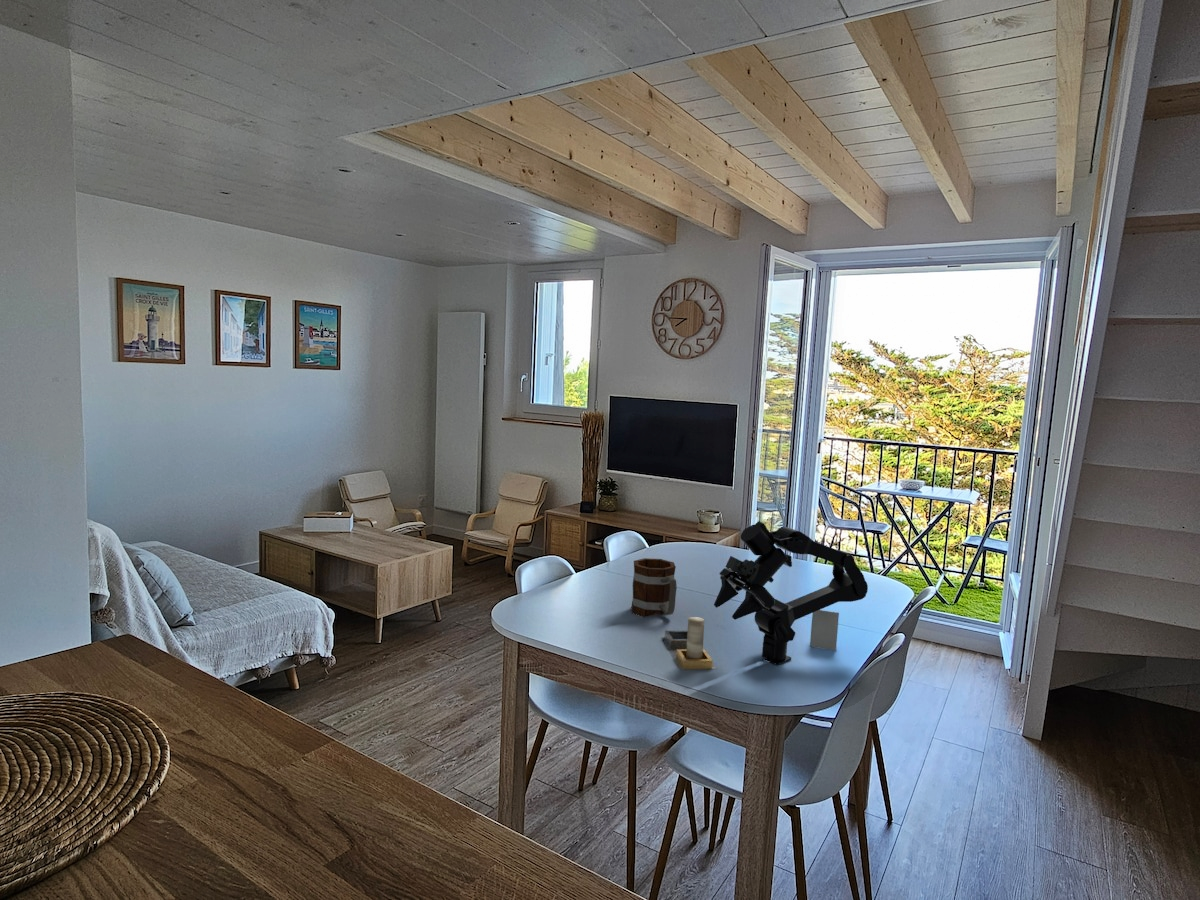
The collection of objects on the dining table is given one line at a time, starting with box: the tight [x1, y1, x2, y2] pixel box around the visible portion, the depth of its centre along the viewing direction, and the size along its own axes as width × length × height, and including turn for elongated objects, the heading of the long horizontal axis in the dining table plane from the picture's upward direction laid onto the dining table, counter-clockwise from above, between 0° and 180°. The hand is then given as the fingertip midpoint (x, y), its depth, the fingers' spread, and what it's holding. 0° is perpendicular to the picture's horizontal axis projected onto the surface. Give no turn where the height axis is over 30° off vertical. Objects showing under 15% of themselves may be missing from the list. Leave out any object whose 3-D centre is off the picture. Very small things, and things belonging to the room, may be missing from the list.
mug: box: [630, 557, 677, 618], centre depth 211 cm, size 20×14×15 cm
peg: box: [686, 616, 705, 660], centre depth 172 cm, size 4×4×11 cm
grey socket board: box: [660, 630, 717, 671], centre depth 179 cm, size 21×9×3 cm, turn 8°
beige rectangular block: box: [809, 609, 840, 652], centre depth 191 cm, size 4×7×10 cm, turn 69°
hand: (723, 612), depth 174 cm, fingers open, 9 cm apart
